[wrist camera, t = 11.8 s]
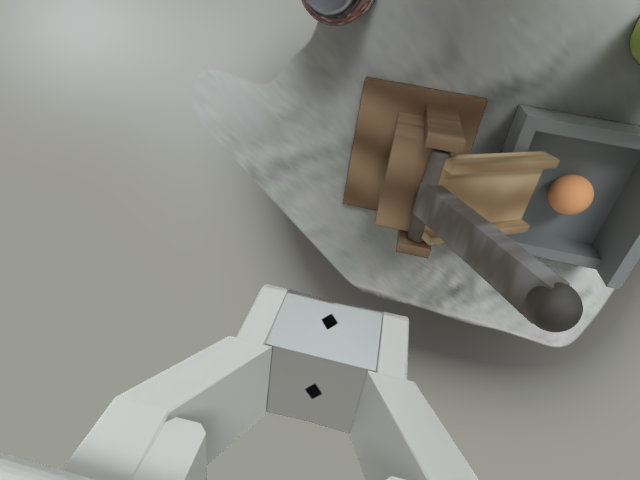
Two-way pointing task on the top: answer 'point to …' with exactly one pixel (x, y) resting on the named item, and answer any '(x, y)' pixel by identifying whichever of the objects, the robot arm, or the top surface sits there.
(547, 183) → the bin
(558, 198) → the ball
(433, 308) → the top surface
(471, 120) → the lever stand
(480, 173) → the launcher
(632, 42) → the plant pot
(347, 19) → the supplement bottle
